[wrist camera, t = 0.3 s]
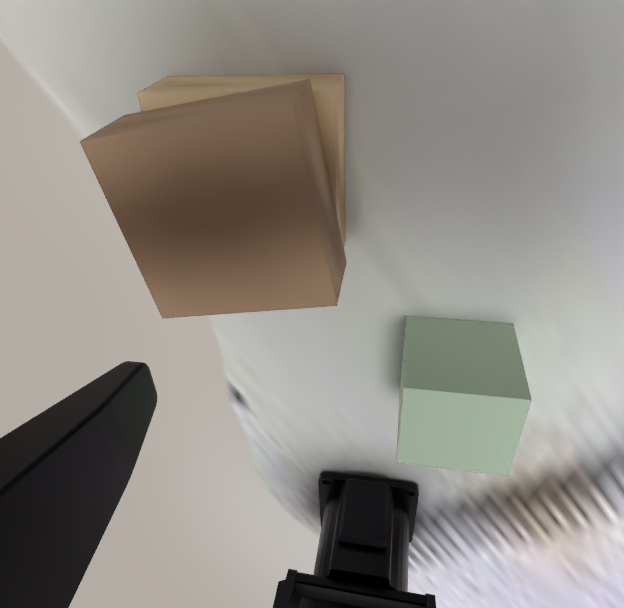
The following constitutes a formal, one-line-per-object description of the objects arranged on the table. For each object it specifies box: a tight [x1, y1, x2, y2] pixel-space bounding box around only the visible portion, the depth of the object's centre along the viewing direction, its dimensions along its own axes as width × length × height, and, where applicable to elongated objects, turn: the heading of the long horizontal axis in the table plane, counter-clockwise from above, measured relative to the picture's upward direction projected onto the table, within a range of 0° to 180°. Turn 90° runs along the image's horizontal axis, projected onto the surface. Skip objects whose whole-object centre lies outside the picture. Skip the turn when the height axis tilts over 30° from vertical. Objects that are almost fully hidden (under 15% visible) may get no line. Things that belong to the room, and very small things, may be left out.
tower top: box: [80, 79, 346, 318], centre depth 18 cm, size 7×7×3 cm
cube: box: [397, 316, 531, 476], centre depth 23 cm, size 5×5×5 cm
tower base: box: [137, 74, 345, 248], centre depth 20 cm, size 7×7×3 cm
